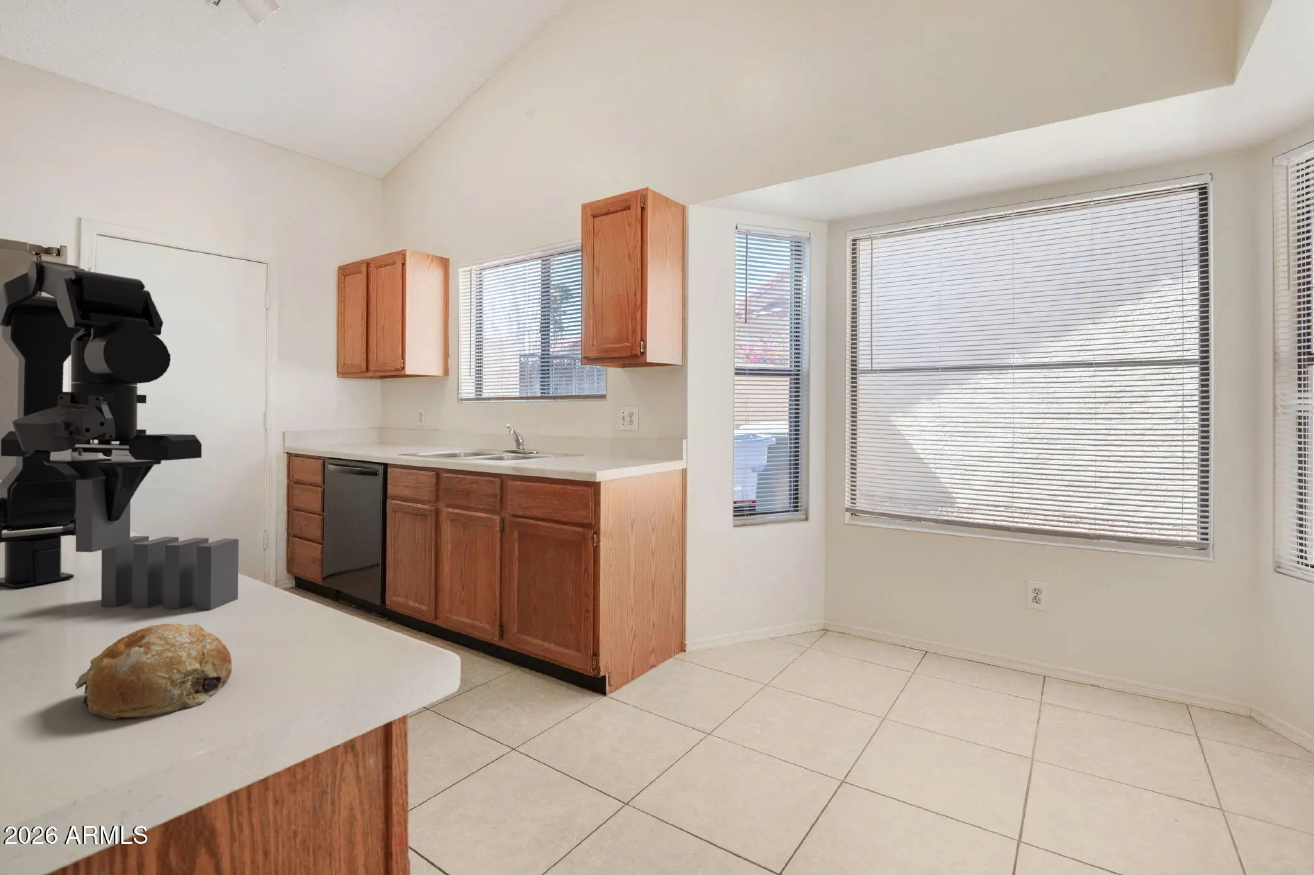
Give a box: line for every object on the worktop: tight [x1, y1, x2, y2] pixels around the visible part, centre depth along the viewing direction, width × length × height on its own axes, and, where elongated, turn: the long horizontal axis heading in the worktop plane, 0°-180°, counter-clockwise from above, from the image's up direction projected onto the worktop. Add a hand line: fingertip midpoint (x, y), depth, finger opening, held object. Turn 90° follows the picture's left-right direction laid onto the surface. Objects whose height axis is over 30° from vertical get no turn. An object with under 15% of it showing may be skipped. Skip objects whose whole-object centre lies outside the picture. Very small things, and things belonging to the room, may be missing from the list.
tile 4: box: [164, 537, 210, 610], centre depth 81 cm, size 2×5×8 cm, turn 179°
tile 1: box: [75, 477, 131, 553], centre depth 72 cm, size 2×5×8 cm, turn 179°
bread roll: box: [74, 623, 233, 721], centre depth 55 cm, size 10×10×8 cm
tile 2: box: [100, 535, 150, 608], centre depth 81 cm, size 2×5×8 cm, turn 179°
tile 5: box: [195, 537, 240, 611], centre depth 81 cm, size 2×5×8 cm, turn 179°
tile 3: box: [132, 536, 180, 609], centre depth 81 cm, size 2×5×8 cm, turn 179°
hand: (104, 520), depth 72 cm, fingers closed on tile 1, 2 cm apart
